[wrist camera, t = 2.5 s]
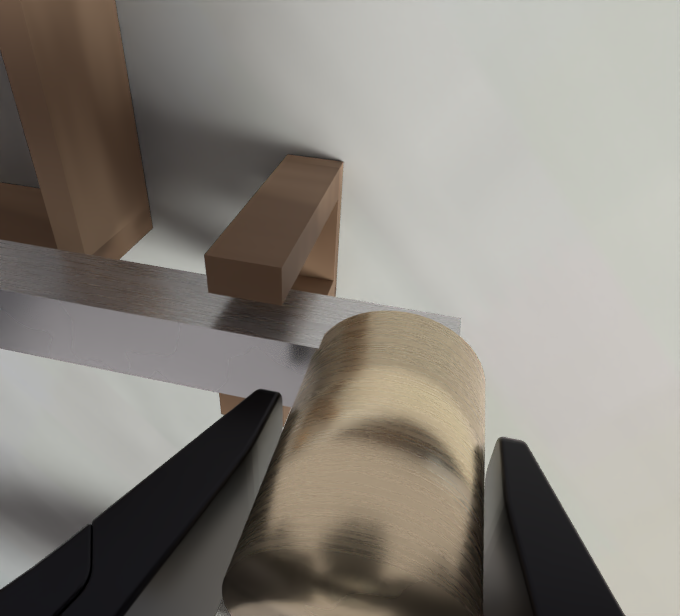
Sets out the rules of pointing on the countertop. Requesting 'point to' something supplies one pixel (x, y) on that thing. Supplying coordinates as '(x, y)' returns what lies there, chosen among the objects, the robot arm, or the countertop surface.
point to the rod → (297, 424)
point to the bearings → (281, 240)
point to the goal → (73, 129)
